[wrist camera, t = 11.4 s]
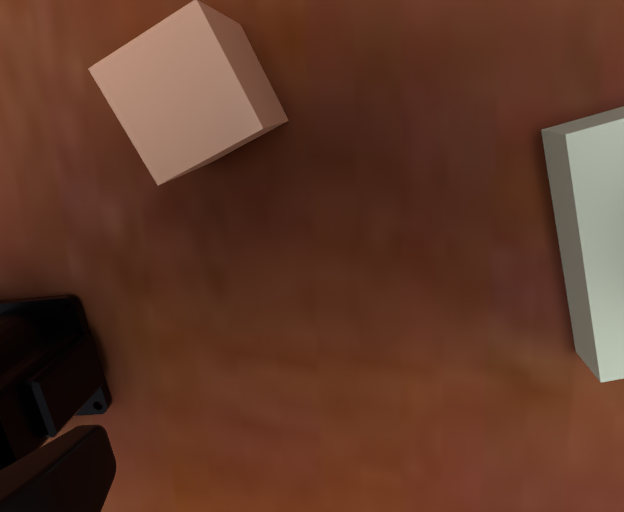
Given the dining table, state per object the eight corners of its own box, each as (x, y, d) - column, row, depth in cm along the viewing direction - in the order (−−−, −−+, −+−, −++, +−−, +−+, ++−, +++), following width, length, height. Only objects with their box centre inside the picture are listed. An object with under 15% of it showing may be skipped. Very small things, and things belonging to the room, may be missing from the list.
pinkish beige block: (206, 164, 20) (157, 185, 15) (156, 75, 19) (88, 68, 14) (288, 120, 19) (263, 128, 14) (240, 24, 18) (196, -2, 13)
